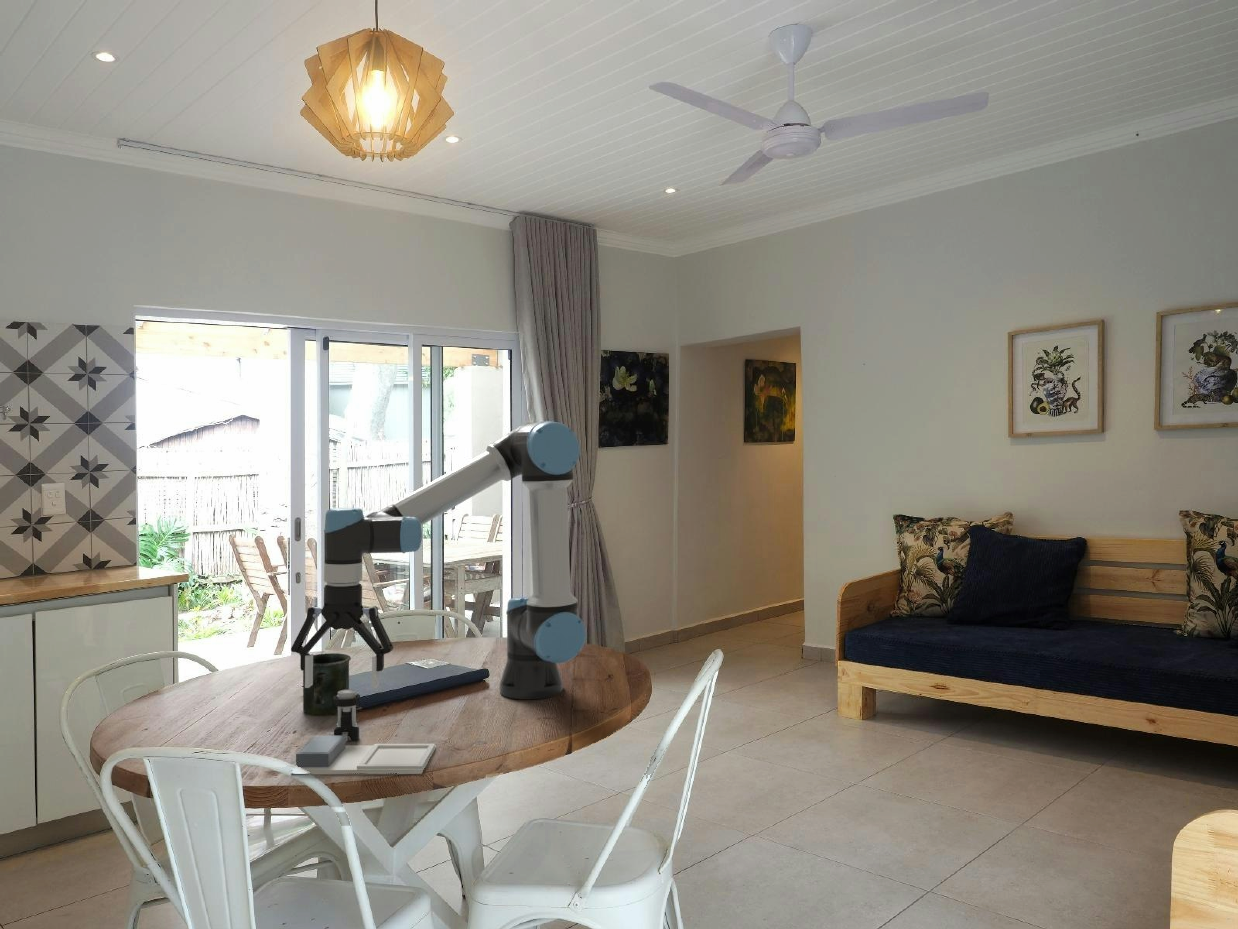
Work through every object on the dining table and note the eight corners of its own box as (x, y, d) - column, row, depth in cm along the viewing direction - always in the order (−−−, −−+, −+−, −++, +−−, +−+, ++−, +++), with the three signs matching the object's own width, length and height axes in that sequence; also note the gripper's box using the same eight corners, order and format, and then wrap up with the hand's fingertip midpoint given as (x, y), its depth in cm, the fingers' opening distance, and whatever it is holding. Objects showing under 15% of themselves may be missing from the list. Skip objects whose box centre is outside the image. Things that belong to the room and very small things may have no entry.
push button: (323, 744, 185) (323, 695, 185) (330, 736, 190) (330, 688, 190) (356, 744, 185) (356, 695, 185) (363, 736, 191) (363, 688, 191)
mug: (354, 703, 216) (354, 652, 215) (343, 721, 201) (342, 667, 201) (307, 704, 214) (307, 653, 214) (292, 722, 200) (292, 668, 200)
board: (435, 749, 182) (435, 742, 182) (421, 774, 168) (421, 767, 168) (314, 749, 182) (314, 743, 182) (290, 774, 168) (290, 767, 168)
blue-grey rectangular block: (345, 748, 180) (345, 735, 180) (328, 767, 169) (328, 753, 169) (314, 748, 180) (314, 735, 180) (296, 767, 169) (296, 753, 169)
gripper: (408, 581, 191) (407, 682, 192) (288, 580, 191) (287, 681, 191) (400, 586, 184) (398, 691, 184) (275, 585, 184) (274, 690, 184)
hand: (342, 686), depth 188 cm, fingers open, 13 cm apart
